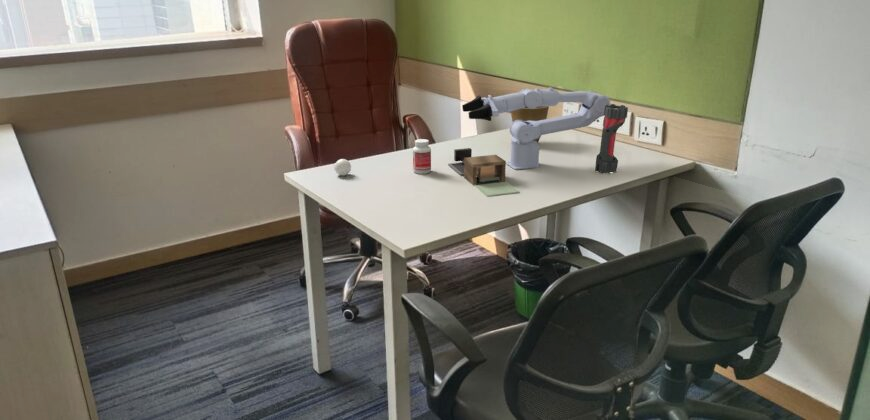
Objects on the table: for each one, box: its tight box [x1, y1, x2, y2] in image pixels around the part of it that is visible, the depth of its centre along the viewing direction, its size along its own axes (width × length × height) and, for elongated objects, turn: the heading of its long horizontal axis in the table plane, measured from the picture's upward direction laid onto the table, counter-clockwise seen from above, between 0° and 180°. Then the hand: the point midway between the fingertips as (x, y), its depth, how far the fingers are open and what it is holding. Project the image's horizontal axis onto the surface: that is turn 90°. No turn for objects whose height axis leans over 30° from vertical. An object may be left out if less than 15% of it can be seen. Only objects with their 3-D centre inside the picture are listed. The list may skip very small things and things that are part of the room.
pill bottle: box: [412, 138, 432, 175], centre depth 221 cm, size 6×6×11 cm
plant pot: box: [510, 106, 550, 144], centre depth 253 cm, size 15×15×16 cm
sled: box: [453, 147, 500, 183], centre depth 221 cm, size 7×26×5 cm, turn 19°
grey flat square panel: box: [447, 161, 464, 177], centre depth 226 cm, size 12×13×1 cm
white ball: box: [334, 158, 352, 177], centre depth 220 cm, size 8×6×6 cm
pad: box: [474, 181, 520, 197], centre depth 206 cm, size 11×10×1 cm
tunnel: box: [463, 154, 507, 186], centre depth 214 cm, size 11×8×7 cm
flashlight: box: [594, 103, 629, 174], centre depth 219 cm, size 8×8×23 cm
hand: (465, 112), depth 218 cm, fingers open, 7 cm apart
